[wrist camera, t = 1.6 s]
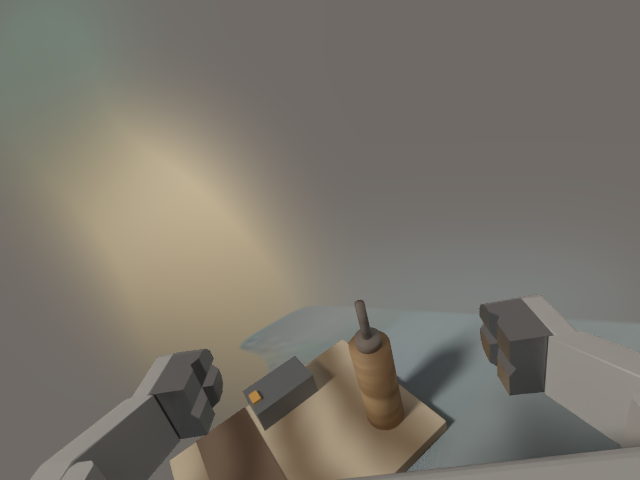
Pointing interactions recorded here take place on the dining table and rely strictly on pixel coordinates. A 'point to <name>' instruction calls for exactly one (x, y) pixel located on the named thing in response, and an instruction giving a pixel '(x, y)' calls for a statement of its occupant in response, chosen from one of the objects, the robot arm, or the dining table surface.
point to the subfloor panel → (314, 435)
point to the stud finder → (280, 392)
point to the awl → (376, 373)
